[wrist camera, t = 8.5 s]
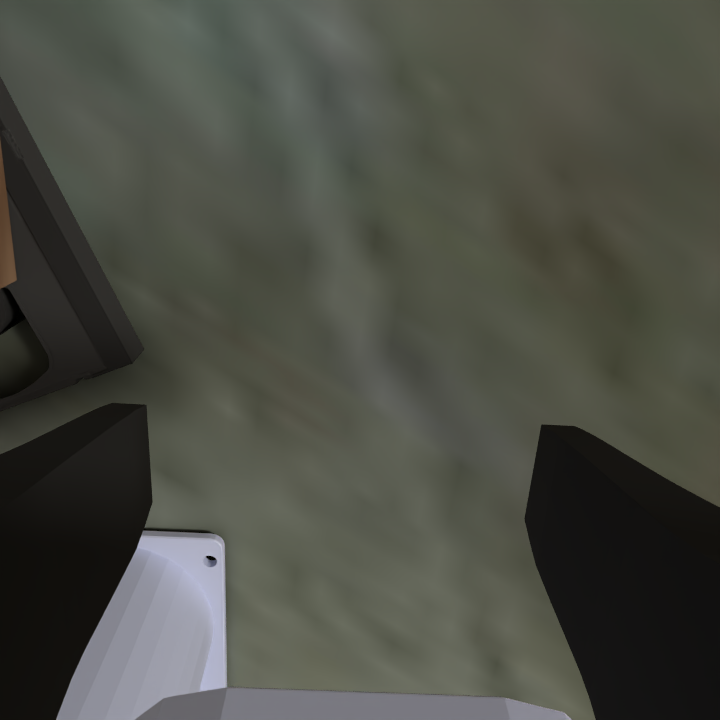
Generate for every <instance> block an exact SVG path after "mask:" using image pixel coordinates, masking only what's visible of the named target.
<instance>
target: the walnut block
mask: <svg viewBox="0 0 720 720" xmlns="http://www.w3.org/2000/svg"><path fill="white" fill-rule="evenodd" d="M16 280H17V277H16V269H15V260H14V252H13V243H12V234H11V226H10V217H9V208H8V200H7V191H6V184H5V175H4V167H3V158H2V150H1V142H0V289H1V288H3V287H5V286H7V285H9V284H11V283H13V282H15V281H16Z"/></svg>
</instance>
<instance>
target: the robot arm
mask: <svg viewBox="0 0 720 720" xmlns="http://www.w3.org/2000/svg"><path fill="white" fill-rule="evenodd" d="M151 505H152V487H151V471H150V455H149V439H148V423H147V407H146V405H140V404H120V403H111V404H108V405H105V406H102V407H100V408H98V409H95V410H93V411H91V412H89V413H87V414H85V415H82V416H80V417H78V418H76V419H74V420H72V421H70V422H68V423H66V424H64V425H62V426H60V427H58V428H56V429H54V430H52V431H50V432H48V433H46V434H44V435H42V436H40V437H38V438H36V439H34V440H32V441H30V442H27V443H25V444H23V445H21V446H19V447H16V448H14V449H12V450H10V451H7V452H5V453H3V454H1V455H0V720H571V719H570V718H569V717H568V716H567V715H566V714H565V713H564V712H560V711H556V710H552V709H548V708H544V707H540V706H536V705H532V704H528V703H524V702H520V701H516V700H512V699H508V698H504V697H497V696H470V695H442V694H415V693H387V692H360V691H332V690H305V689H277V688H249V687H227V653H226V589H225V544H224V541H223V539H222V538H221V537H220V536H218V535H216V534H211V533H188V532H165V531H143V530H144V527H145V524H146V521H147V517H148V514H149V511H150V508H151ZM525 523H526V527H527V531H528V536H529V540H530V544H531V548H532V552H533V556H534V559H535V563H536V566H537V569H538V571H539V574H540V577H541V579H542V581H543V584H544V586H545V589H546V591H547V594H548V596H549V599H550V601H551V604H552V606H553V608H554V611H555V613H556V615H557V618H558V620H559V623H560V625H561V627H562V630H563V632H564V635H565V637H566V639H567V642H568V644H569V647H570V649H571V651H572V654H573V656H574V658H575V661H576V663H577V666H578V668H579V670H580V673H581V676H582V679H583V681H584V684H585V687H586V690H587V692H588V695H589V698H590V701H591V705H592V708H593V711H594V715H595V718H596V720H720V507H718V506H716V505H714V504H712V503H710V502H708V501H706V500H704V499H702V498H701V497H699V496H697V495H695V494H693V493H691V492H689V491H687V490H686V489H684V488H682V487H680V486H678V485H676V484H675V483H673V482H671V481H669V480H668V479H666V478H664V477H662V476H661V475H659V474H657V473H656V472H654V471H652V470H651V469H649V468H647V467H646V466H644V465H642V464H641V463H639V462H637V461H636V460H634V459H632V458H631V457H629V456H627V455H626V454H624V453H622V452H621V451H619V450H617V449H616V448H614V447H613V446H611V445H609V444H608V443H606V442H604V441H603V440H601V439H599V438H597V437H596V436H594V435H592V434H590V433H588V432H586V431H584V430H582V429H580V428H578V427H575V426H560V425H541V430H540V436H539V441H538V447H537V452H536V458H535V464H534V469H533V475H532V480H531V486H530V491H529V497H528V503H527V508H526V514H525ZM206 556H213V557H215V558H216V560H208V559H207V558H206Z"/></svg>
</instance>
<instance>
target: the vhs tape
mask: <svg viewBox="0 0 720 720" xmlns="http://www.w3.org/2000/svg"><path fill="white" fill-rule="evenodd" d="M0 142H1V150H2V158H3V167H4V175H5V184H6V191H7V200H8V208H9V217H10V226H11V234H12V243H13V252H14V260H15V269H16V277H17V280H16V281H15V282H13V283H11V284H9V285H7V286H5V287H3V288H1V289H0V335H1V334H3V333H4V332H6V331H7V330H8V329H10V328H11V326H12V325H13V323H14V322H15V320H16V318H17V316H18V312H19V307H20V309H21V310H22V312H23V314H24V315H25V317H26V318H25V319H27V321H28V322H29V324H30V326H31V327H32V329H33V331H34V333H35V334H36V336H37V338H38V339H39V341H40V343H41V345H42V346H43V348H44V350H45V351H46V353H47V355H48V358H49V368H48V370H47V371H46V372H45V373H44V374H43V375H42V376H41V377H40V378H39V379H38V380H37V381H36V382H35V383H33V384H32V385H30V386H28V387H27V388H25V389H24V390H22V391H20V392H18V393H16V394H13V395H11V396H8V397H5V398H2V399H0V411H2V410H5V409H8V408H10V407H13V406H16V405H19V404H21V403H24V402H27V401H30V400H32V399H35V398H38V397H41V396H43V395H46V394H49V393H52V392H54V391H57V390H60V389H63V388H65V387H68V386H71V385H73V384H76V383H78V382H79V381H80V380H81V379H83V378H84V379H89V378H94V377H96V376H99V375H102V374H104V373H107V372H110V371H113V370H115V369H118V368H121V367H123V366H126V365H129V364H132V363H133V362H134V361H135V359H136V358H137V357H138V356H139V355H140V354H141V352H142V351H143V350H144V348H143V346H142V344H141V342H140V340H139V338H138V336H137V335H136V333H135V331H134V329H133V327H132V325H131V323H130V321H129V319H128V318H127V316H126V314H125V312H124V310H123V308H122V306H121V304H120V302H119V301H118V299H117V297H116V295H115V293H114V291H113V289H112V287H111V285H110V283H109V282H108V280H107V278H106V276H105V274H104V272H103V270H102V268H101V266H100V265H99V263H98V261H97V259H96V257H95V255H94V253H93V251H92V249H91V248H90V246H89V244H88V242H87V240H86V238H85V236H84V234H83V232H82V230H81V229H80V227H79V225H78V223H77V221H76V219H75V217H74V215H73V213H72V212H71V210H70V208H69V206H68V204H67V202H66V200H65V198H64V196H63V194H62V193H61V191H60V189H59V187H58V185H57V183H56V181H55V179H54V177H53V176H52V174H51V172H50V170H49V168H48V166H47V164H46V162H45V160H44V158H43V157H42V155H41V153H40V151H39V149H38V147H37V145H36V143H35V141H34V140H33V138H32V136H31V134H30V132H29V130H28V128H27V126H26V124H25V122H24V121H23V119H22V117H21V115H20V113H19V111H18V109H17V107H16V105H15V104H14V102H13V100H12V98H11V96H10V94H9V92H8V90H7V88H6V86H5V85H4V83H3V81H2V79H1V77H0ZM23 320H24V319H23ZM23 320H22V321H23ZM20 322H21V321H20ZM18 323H19V322H18ZM18 323H17V324H18ZM15 325H16V324H15ZM13 326H14V325H13ZM13 326H12V327H13Z"/></svg>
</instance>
